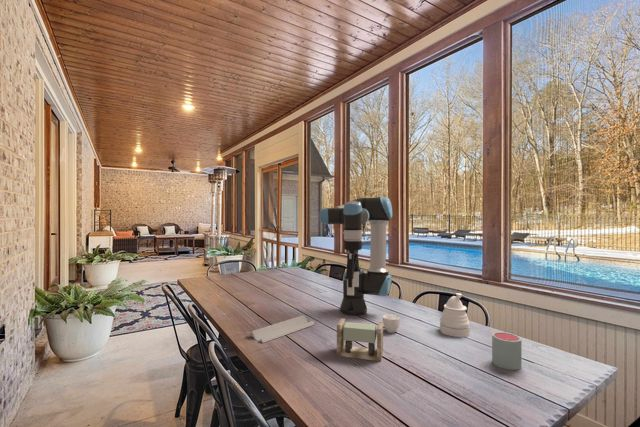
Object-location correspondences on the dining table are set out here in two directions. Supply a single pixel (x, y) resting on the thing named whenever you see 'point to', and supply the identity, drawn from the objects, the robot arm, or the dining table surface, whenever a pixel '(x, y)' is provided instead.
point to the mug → (506, 350)
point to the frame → (359, 352)
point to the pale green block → (360, 332)
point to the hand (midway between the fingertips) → (353, 290)
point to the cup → (391, 322)
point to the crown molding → (280, 329)
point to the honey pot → (455, 318)
